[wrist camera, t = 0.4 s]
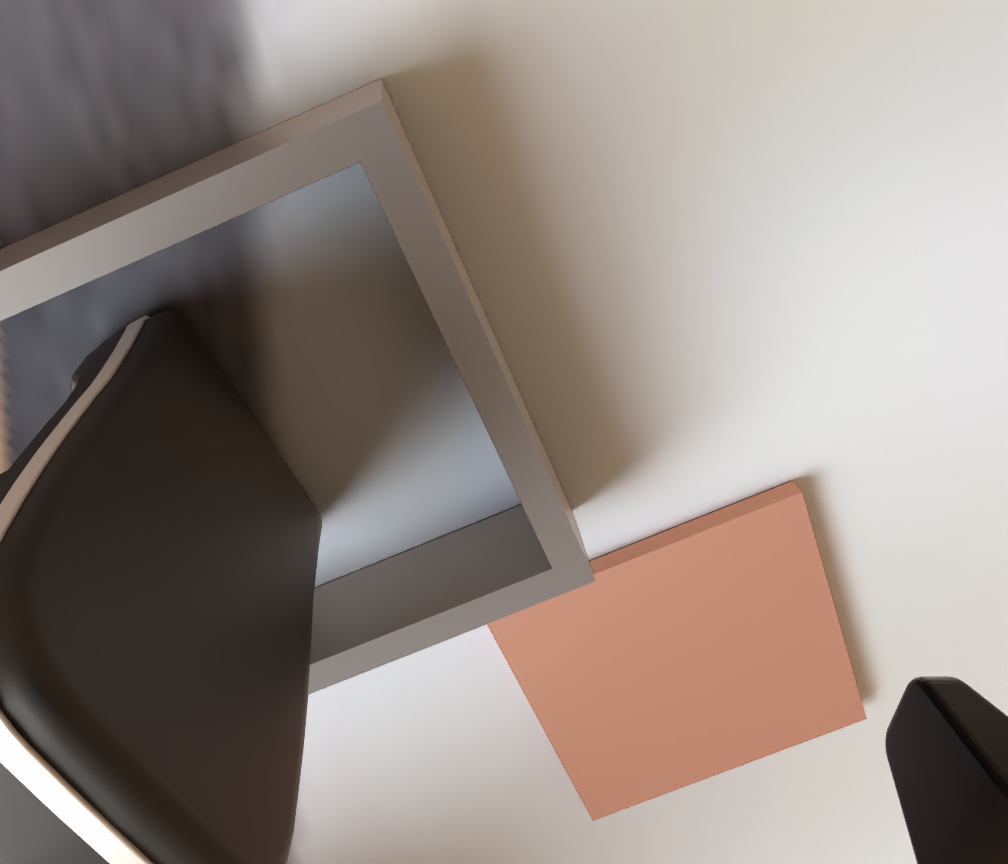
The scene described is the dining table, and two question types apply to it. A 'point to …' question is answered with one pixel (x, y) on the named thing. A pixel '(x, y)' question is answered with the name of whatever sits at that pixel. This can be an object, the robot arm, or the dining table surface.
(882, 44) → the dining table surface
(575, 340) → the dining table surface
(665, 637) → the mat
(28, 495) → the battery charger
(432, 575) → the bin
